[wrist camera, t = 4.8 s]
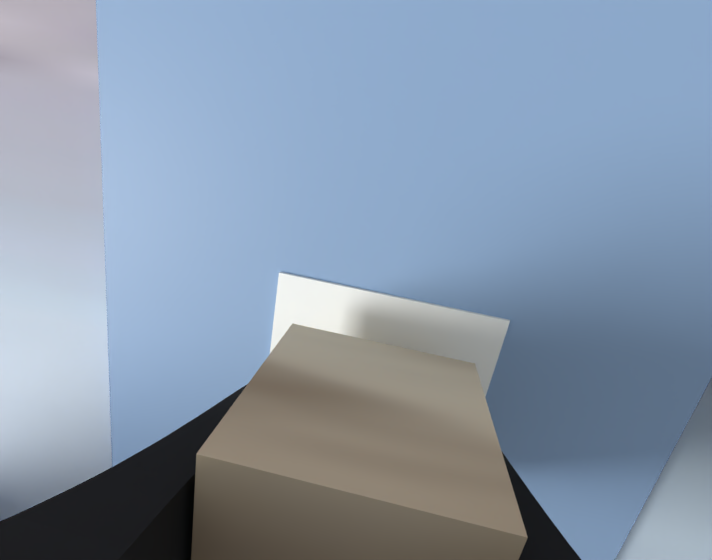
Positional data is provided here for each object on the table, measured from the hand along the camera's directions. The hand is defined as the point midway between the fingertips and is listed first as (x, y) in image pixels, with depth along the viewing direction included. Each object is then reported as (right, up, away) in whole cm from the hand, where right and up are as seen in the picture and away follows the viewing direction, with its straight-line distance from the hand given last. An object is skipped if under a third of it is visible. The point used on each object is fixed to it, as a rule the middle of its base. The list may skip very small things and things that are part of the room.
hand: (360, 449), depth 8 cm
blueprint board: (0, +1, +3) cm, 3 cm away
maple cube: (0, 0, +1) cm, 1 cm away
